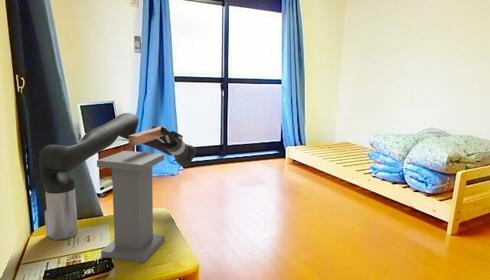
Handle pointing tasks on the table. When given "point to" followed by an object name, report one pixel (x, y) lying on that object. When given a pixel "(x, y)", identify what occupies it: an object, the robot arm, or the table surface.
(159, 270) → the table surface
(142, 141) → the bar
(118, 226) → the stand
